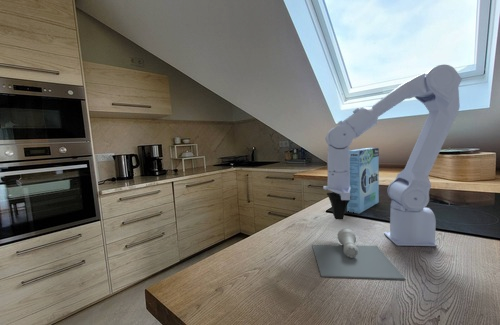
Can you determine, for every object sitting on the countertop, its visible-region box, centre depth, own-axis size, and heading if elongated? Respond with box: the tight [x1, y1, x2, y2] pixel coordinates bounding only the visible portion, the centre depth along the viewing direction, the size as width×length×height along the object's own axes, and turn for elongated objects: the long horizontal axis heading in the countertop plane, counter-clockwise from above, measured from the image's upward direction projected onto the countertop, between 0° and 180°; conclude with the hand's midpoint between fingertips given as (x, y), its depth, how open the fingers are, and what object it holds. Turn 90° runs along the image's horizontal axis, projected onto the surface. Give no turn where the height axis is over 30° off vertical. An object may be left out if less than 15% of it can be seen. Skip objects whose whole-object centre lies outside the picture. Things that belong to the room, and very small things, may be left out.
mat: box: [311, 244, 406, 281], centre depth 54 cm, size 16×14×1 cm
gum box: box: [346, 147, 380, 214], centre depth 92 cm, size 20×5×23 cm, turn 133°
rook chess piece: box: [337, 228, 358, 258], centre depth 57 cm, size 4×4×8 cm
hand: (338, 218), depth 66 cm, fingers closed
